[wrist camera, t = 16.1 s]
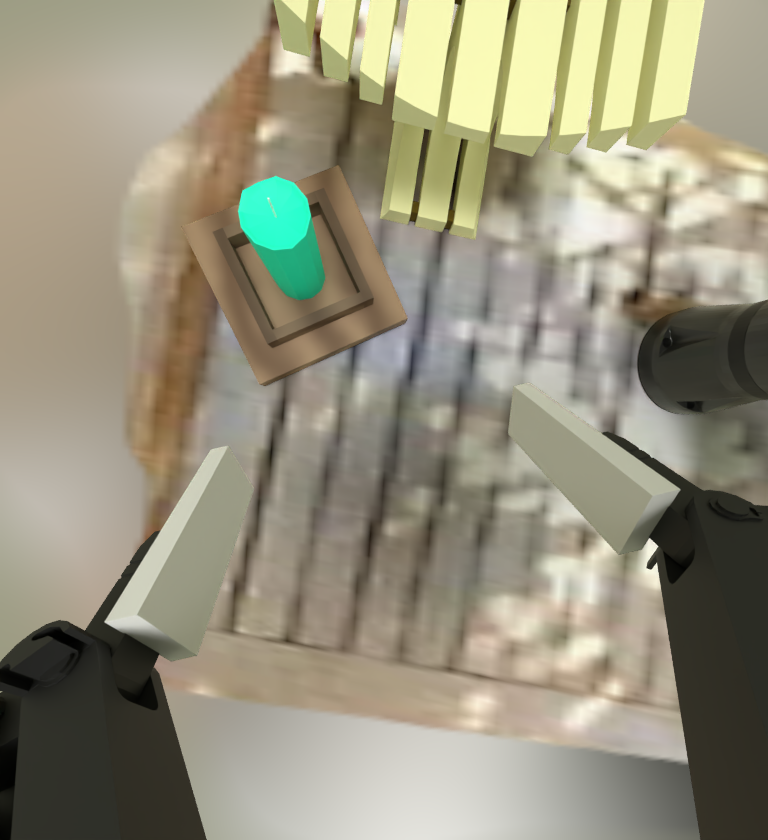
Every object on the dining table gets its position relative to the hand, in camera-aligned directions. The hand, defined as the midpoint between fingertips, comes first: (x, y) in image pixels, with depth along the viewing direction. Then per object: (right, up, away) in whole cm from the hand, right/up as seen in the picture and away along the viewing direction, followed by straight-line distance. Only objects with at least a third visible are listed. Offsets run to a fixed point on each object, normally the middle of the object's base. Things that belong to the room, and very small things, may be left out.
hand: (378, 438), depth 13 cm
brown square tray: (-10, +19, +22) cm, 31 cm away
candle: (-10, +18, +21) cm, 29 cm away
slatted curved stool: (+7, +34, +24) cm, 42 cm away
